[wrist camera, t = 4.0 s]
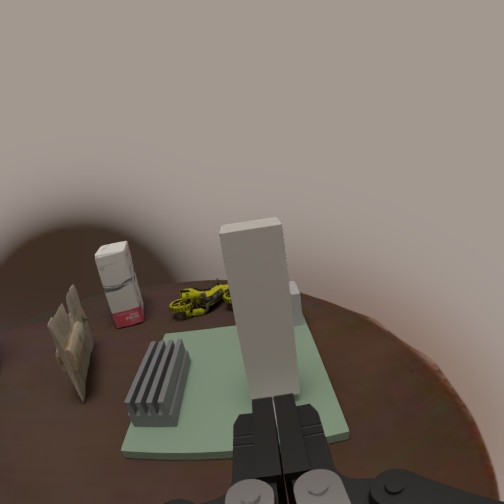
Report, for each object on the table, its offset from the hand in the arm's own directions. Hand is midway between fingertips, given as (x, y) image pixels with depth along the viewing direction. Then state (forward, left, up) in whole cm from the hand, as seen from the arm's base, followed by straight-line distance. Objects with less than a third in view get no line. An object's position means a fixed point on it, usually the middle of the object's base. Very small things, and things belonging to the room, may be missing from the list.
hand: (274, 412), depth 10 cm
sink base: (-12, +12, -11) cm, 20 cm away
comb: (-30, +6, -12) cm, 32 cm away
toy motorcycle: (-24, +27, -12) cm, 38 cm away
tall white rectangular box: (-7, +13, -9) cm, 18 cm away
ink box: (-37, +20, -12) cm, 43 cm away
